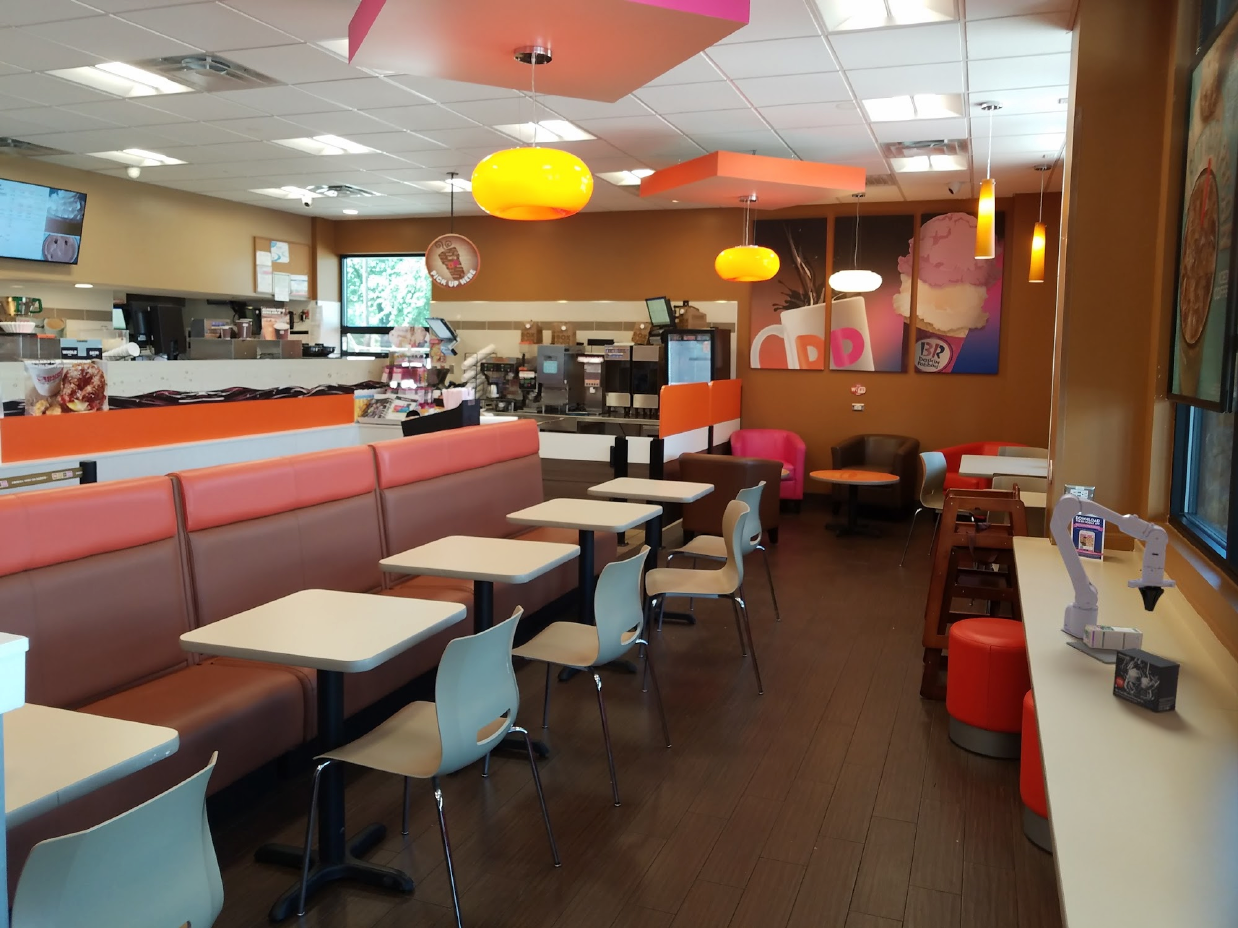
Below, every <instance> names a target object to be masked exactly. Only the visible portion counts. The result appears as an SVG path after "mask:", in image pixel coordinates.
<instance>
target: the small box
mask: <svg viewBox="0 0 1238 928" xmlns="http://www.w3.org/2000/svg"><path fill="white" fill-rule="evenodd" d="M1180 667H1181V664H1180V663H1178V662H1175V661H1173V660H1170V659H1167V658H1165V657H1161V656H1159V655H1156V654H1154V653H1151V652H1149V651H1146V650H1143V649H1142V648H1141V649H1138V648H1131V649H1123V650H1117V655H1116V663H1115V667H1114V669H1115V670H1114V679H1113V689H1112V695H1113V696H1116V697H1119V698H1121V699H1123V700H1125V701H1128V702H1131V703H1132V704H1135V705H1137V706H1139V707H1142V708H1144V709H1146V710H1149V711H1151V712H1153V713H1156V714H1157V713H1164V712H1169V711H1170V712H1171V711H1175V710H1176V703H1177V701H1176V700H1177V695H1178V694H1177V692H1178V681H1179V675H1180V674H1179V673H1180Z"/></svg>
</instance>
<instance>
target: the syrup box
mask: <svg viewBox="0 0 1238 928" xmlns="http://www.w3.org/2000/svg"><path fill="white" fill-rule="evenodd" d="M1143 635H1144V633H1143V632H1142V631H1140V629H1137V628H1136V627H1128V626H1127V627H1125V626H1114V625H1112V626H1111V625H1102V624H1101V625H1100V624H1099V625H1098V624H1097V625H1087V624H1086V625H1085V628H1084V638H1083V641H1082V642H1084V643H1086V645H1087V646H1089V647H1090V648H1100V649H1113V650H1123V649H1131V648H1138V649H1141V650H1142V645H1143V638H1144V637H1143Z"/></svg>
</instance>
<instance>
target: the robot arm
mask: <svg viewBox="0 0 1238 928" xmlns="http://www.w3.org/2000/svg"><path fill="white" fill-rule="evenodd" d="M1052 513H1053V514H1052V516H1051V519H1050V524H1049V528H1050V531H1051V535H1052V536H1053V538H1054V541H1055V543H1056V546H1057V548H1058V551H1059V554H1060V556H1061V559H1062V561H1063V564H1064V565H1065V568H1066V570H1067V573H1068V576H1069V578H1070V581H1071V584H1072V586H1073V590H1074V593H1075V594H1074V602H1072V603H1071V602H1070V603H1068V604H1067V606H1066V607H1065V610H1064V617H1063V627H1060V630H1062V631H1063V632H1065V633H1067V634H1069V635H1072V636H1074V637H1076V638H1077V639H1084V628H1085V625H1086V624H1087V625H1098V614H1099V606H1098V600H1099V597H1098V594H1099V592H1098V589H1097V588H1096V586H1095V585H1093V583H1091V581H1090V578H1089V576H1088V575H1087V572H1086V570H1085V568H1084V566H1083V563H1082V561H1081V558H1080V556H1079V553H1078V551H1077V549H1076V546H1075V544H1074V541H1073V539H1072V536H1071V534H1070V532H1069V529H1068V526H1069V525H1070V523H1071V520H1073V519H1074V518H1076V517H1077V516H1078V514H1079V513H1080V515H1081V516H1088V515H1092V516H1093V517H1097V518H1099V519H1102V520H1104V521H1106V522H1109V523H1110V524H1111V523H1112V524H1114V525H1116V526H1118V530H1119V531H1120V532H1122V533H1124V534H1126V535H1128V536H1129V537H1133V538H1135V539H1137V540H1138V541H1139V540H1140V541H1145V545H1144V546H1145V548H1144V550H1143V558H1142V567H1141V577H1140V578H1137V579H1130V580H1129V579H1128V580H1127V587H1129V588H1131V589H1135V588H1137V589H1138V592H1139V593H1140V596H1141V598H1142V601H1143V605H1144V606H1143V607H1144V610H1145V611H1147V612H1154V611H1155V607H1156V605H1157V603H1158V601H1159V599H1160V598H1161V597H1162V596H1163V595H1164V593H1165V589H1164V588H1173V589H1175V588H1176V582H1177V581H1176V580H1173V579H1164V574H1165V566H1166V565H1165V563H1166V554H1167V553H1166V551H1167V545H1168V543H1169V535H1168V533H1167V531H1166V530H1165V529H1164V528H1163V527H1161V526H1160V525H1157V524H1155V523H1154V522H1147V521H1145V520H1143V519H1141V518H1139V515H1137V514H1133V515H1132V514H1130V513H1128V514H1125V515H1122V514H1120V513H1118V512H1116V511H1113V510H1111V509H1109V508H1107V507H1105V506H1103V505H1101V504H1099V503H1097V502H1095V501H1093V500H1092V499H1087V498H1085V497H1083V496H1077V495H1076V494H1074V493H1065V494H1062V496H1060V498H1059V499H1058V500H1057V502H1056V503H1055V506H1054V509H1053V512H1052Z"/></svg>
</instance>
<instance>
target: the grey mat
mask: <svg viewBox="0 0 1238 928" xmlns="http://www.w3.org/2000/svg"><path fill="white" fill-rule="evenodd" d="M1065 644H1066V645H1068V646H1070V645H1071V646H1070V647H1072V648H1074V647H1075V648H1074V649H1076V650H1078V651H1080V650H1081V651H1080V652H1081V653H1084V652H1085V653H1084V654H1086V655H1088V656H1090V657H1092V658H1094V659H1096V660H1097V661H1100V662H1101V661H1102V663H1103V662H1104V663H1103V664H1105V663H1112V664H1116V655H1117V650H1113V649H1100V648H1090V647H1089V646H1087V645H1086V643H1084V642H1083V641H1066V642H1065Z"/></svg>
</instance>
